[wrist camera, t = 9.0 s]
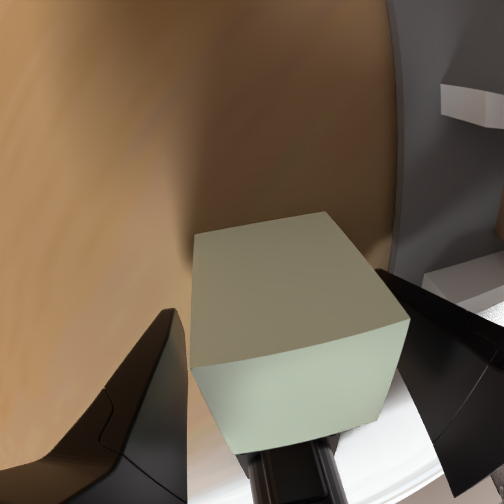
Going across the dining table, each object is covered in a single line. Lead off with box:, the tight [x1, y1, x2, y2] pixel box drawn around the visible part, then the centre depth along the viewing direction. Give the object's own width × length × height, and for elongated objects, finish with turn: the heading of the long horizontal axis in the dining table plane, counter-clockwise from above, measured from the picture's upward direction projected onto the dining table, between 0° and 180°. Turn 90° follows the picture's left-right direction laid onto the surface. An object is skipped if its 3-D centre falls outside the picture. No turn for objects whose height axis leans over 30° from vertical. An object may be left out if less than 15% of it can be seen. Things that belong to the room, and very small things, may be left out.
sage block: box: [190, 211, 411, 455], centre depth 8 cm, size 4×4×5 cm
